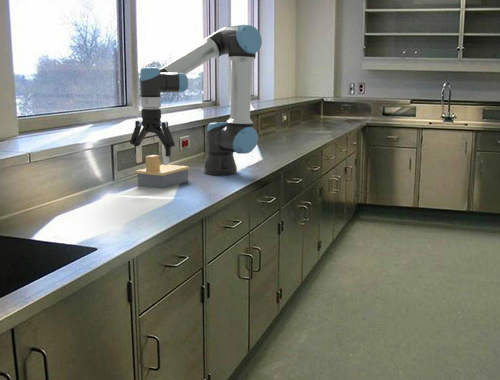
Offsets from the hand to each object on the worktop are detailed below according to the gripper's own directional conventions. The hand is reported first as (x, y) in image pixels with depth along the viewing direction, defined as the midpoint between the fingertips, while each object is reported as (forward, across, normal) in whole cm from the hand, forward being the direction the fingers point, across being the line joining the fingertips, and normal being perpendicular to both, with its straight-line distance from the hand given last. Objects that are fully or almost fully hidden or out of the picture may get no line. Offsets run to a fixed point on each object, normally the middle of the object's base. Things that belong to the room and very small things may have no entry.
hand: (152, 163), depth 230 cm
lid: (+4, 0, +7) cm, 8 cm away
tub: (+10, 0, +7) cm, 12 cm away
